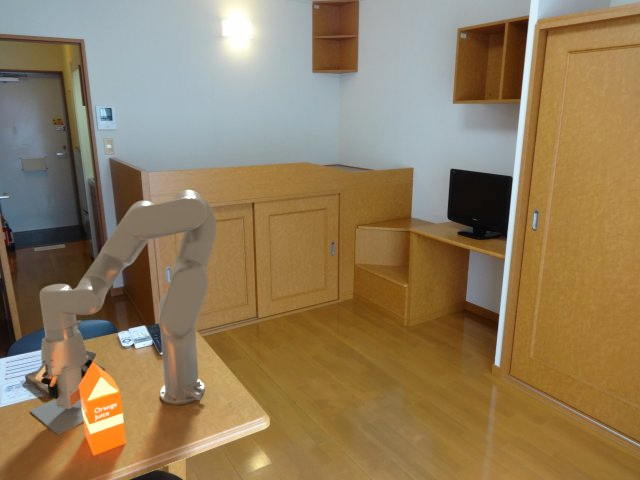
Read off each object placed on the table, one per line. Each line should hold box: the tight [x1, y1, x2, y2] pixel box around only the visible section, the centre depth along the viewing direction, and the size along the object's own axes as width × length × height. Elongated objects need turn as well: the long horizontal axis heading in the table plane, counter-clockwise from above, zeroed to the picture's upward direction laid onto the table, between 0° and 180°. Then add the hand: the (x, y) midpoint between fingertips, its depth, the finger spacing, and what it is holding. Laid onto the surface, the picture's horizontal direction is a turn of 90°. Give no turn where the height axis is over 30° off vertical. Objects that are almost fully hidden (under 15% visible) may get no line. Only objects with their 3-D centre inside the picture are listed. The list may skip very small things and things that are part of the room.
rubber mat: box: [29, 398, 84, 436], centre depth 131 cm, size 16×15×1 cm
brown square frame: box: [24, 360, 106, 399], centre depth 147 cm, size 15×17×2 cm
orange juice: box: [78, 361, 127, 456], centre depth 117 cm, size 8×9×20 cm
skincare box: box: [55, 366, 82, 409], centre depth 129 cm, size 6×4×12 cm
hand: (69, 390), depth 130 cm, fingers closed on skincare box, 7 cm apart
